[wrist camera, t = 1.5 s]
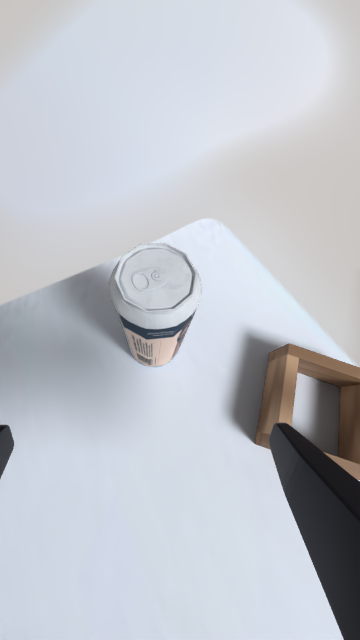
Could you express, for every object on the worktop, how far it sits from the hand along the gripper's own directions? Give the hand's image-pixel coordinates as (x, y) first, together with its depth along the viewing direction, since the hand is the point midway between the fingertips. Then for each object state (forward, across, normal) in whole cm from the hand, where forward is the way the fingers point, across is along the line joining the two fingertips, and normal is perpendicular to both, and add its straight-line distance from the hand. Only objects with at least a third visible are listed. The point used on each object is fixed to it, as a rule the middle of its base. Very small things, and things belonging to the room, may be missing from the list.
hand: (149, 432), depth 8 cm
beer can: (+14, 0, +4) cm, 14 cm away
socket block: (+9, -14, +8) cm, 19 cm away
